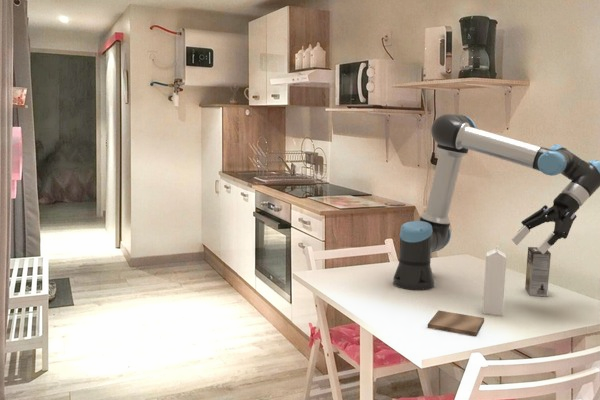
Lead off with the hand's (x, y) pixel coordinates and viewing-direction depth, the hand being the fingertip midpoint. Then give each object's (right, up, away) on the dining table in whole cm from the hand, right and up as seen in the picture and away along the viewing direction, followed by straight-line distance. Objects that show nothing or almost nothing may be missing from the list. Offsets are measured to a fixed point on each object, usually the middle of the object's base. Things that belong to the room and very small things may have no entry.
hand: (526, 246), depth 180 cm
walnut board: (-26, -23, -12) cm, 37 cm away
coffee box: (+13, -19, +23) cm, 33 cm away
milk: (-11, -21, +1) cm, 24 cm away
